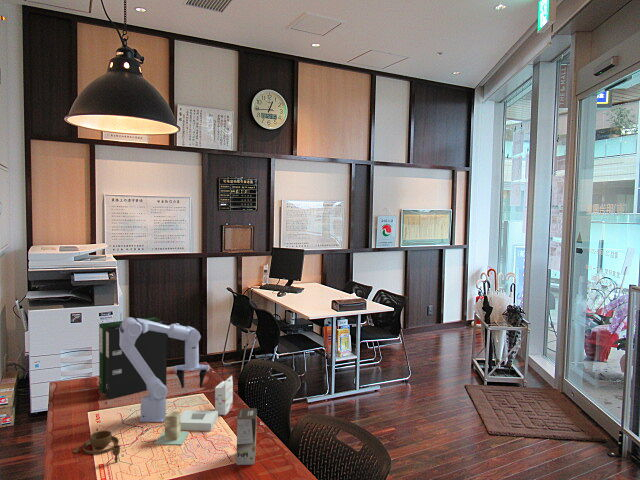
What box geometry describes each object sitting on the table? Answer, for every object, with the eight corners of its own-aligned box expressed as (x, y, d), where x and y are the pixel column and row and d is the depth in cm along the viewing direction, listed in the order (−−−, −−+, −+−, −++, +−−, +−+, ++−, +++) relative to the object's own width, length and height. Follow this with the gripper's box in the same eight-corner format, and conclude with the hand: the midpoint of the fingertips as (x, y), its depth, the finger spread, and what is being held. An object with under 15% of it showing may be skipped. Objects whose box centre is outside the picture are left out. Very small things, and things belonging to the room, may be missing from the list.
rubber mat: (154, 444, 174) (154, 443, 174) (163, 431, 184) (163, 430, 184) (181, 445, 174) (181, 444, 174) (189, 432, 184) (189, 431, 184)
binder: (155, 378, 243) (155, 316, 241) (167, 386, 232) (168, 322, 230) (99, 390, 225) (99, 323, 223) (109, 400, 214) (109, 329, 212)
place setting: (129, 437, 180) (129, 422, 180) (121, 465, 161) (121, 448, 160) (78, 442, 176) (78, 426, 175) (64, 471, 156) (64, 453, 156)
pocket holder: (175, 429, 186) (175, 422, 186) (184, 416, 198) (184, 409, 198) (211, 430, 186) (211, 423, 186) (217, 417, 198) (218, 410, 198)
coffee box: (254, 464, 162) (255, 419, 161) (235, 465, 161) (236, 419, 161) (256, 451, 171) (257, 407, 170) (238, 451, 171) (239, 408, 170)
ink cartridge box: (222, 406, 210) (222, 373, 209) (232, 407, 209) (233, 374, 208) (214, 414, 202) (214, 380, 201) (225, 415, 201) (225, 381, 200)
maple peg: (164, 439, 177) (164, 416, 177) (168, 434, 182) (168, 411, 181) (176, 440, 177) (176, 416, 177) (180, 434, 182) (180, 411, 181)
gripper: (172, 359, 199) (172, 390, 200) (207, 358, 200) (207, 390, 200) (176, 354, 206) (176, 384, 207) (210, 353, 207) (210, 384, 207)
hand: (192, 387), depth 204 cm, fingers open, 7 cm apart
